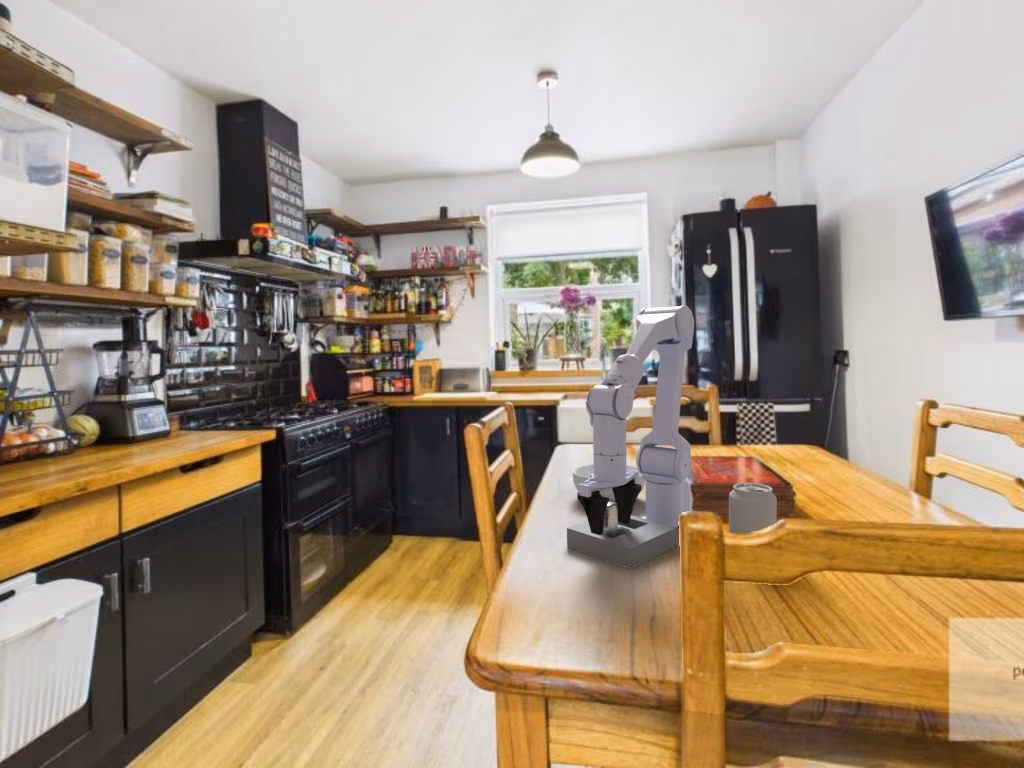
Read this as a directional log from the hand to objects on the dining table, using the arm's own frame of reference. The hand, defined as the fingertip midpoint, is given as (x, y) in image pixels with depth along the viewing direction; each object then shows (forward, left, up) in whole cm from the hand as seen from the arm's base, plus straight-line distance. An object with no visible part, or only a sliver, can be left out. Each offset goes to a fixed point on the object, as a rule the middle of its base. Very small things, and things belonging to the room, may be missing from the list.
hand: (610, 528), depth 95 cm
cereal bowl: (-25, -20, -4) cm, 32 cm away
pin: (0, 0, -4) cm, 4 cm away
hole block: (-3, 0, -4) cm, 5 cm away
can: (-16, +18, -4) cm, 25 cm away
